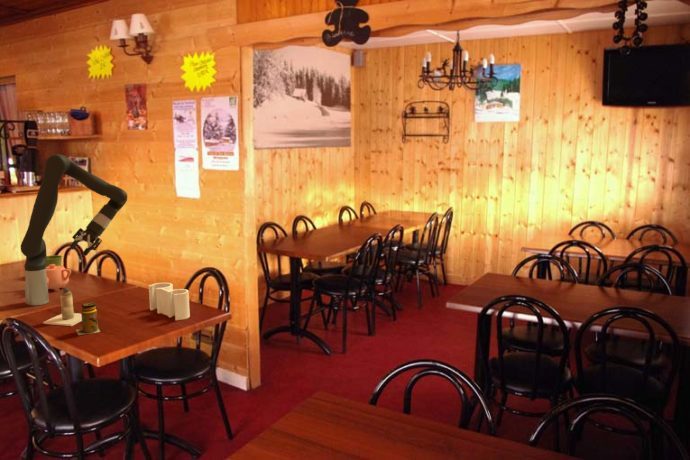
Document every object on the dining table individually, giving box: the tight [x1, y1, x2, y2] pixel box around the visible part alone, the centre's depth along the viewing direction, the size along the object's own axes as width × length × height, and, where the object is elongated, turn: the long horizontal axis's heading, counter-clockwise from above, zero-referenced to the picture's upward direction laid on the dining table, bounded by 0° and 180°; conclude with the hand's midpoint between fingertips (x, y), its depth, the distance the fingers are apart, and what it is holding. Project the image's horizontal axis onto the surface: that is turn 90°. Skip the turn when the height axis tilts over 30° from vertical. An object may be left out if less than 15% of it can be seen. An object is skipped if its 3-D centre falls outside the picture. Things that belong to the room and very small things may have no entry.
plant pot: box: [46, 254, 63, 267], centre depth 332 cm, size 12×12×11 cm
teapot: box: [46, 264, 72, 292], centre depth 305 cm, size 16×17×14 cm
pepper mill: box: [59, 287, 75, 320], centre depth 255 cm, size 5×5×14 cm
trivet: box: [42, 312, 82, 327], centre depth 256 cm, size 14×14×1 cm
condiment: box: [75, 302, 101, 336], centre depth 241 cm, size 7×8×12 cm
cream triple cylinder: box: [148, 282, 191, 321], centre depth 266 cm, size 25×10×12 cm, turn 46°
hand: (77, 251), depth 269 cm, fingers open, 8 cm apart
